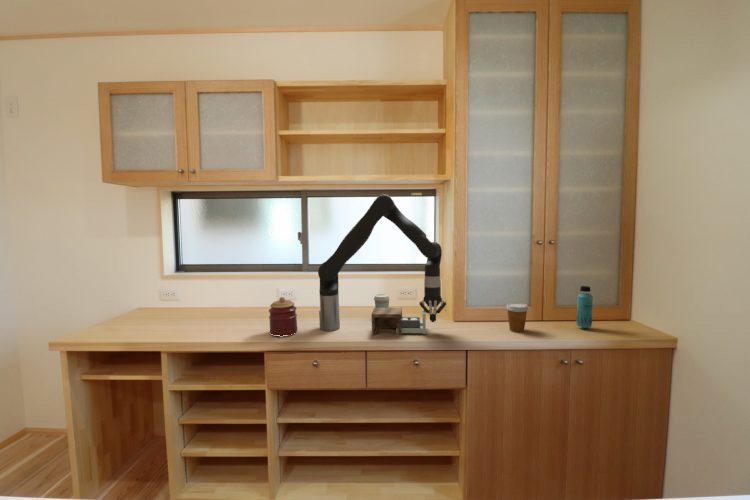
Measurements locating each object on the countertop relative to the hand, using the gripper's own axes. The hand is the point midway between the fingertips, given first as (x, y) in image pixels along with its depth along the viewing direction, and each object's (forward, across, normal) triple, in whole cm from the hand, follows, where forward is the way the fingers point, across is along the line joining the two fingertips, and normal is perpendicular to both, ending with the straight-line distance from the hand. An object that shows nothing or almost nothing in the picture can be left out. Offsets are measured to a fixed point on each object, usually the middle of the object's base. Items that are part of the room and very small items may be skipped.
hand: (432, 321), depth 176 cm
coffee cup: (+5, +26, -24) cm, 36 cm away
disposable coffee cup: (+5, -39, -3) cm, 39 cm away
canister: (+5, +71, +4) cm, 71 cm away
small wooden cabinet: (+5, +21, 0) cm, 22 cm away
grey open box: (+3, +11, 0) cm, 11 cm away
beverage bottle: (+5, -70, -6) cm, 70 cm away
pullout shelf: (+4, +10, 0) cm, 11 cm away
